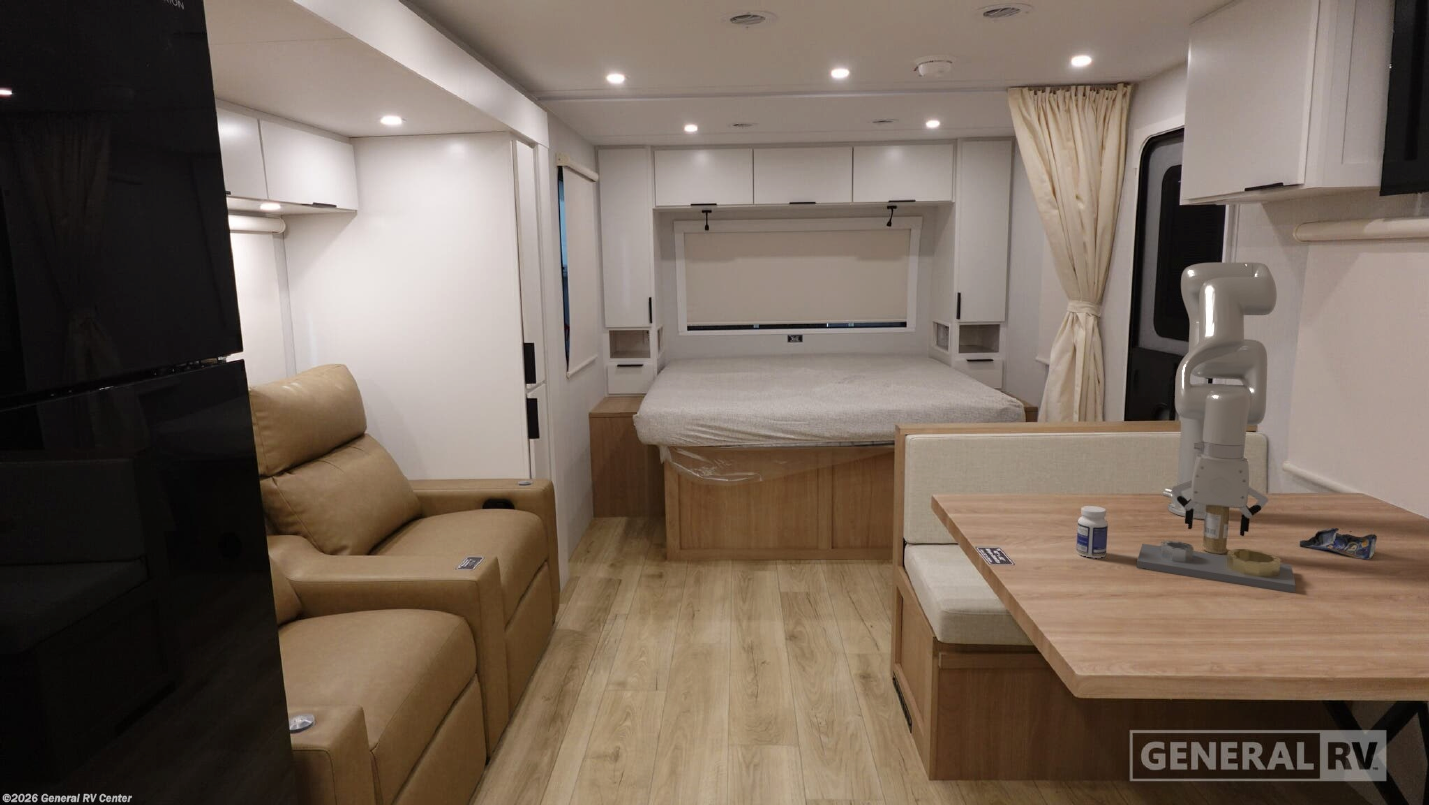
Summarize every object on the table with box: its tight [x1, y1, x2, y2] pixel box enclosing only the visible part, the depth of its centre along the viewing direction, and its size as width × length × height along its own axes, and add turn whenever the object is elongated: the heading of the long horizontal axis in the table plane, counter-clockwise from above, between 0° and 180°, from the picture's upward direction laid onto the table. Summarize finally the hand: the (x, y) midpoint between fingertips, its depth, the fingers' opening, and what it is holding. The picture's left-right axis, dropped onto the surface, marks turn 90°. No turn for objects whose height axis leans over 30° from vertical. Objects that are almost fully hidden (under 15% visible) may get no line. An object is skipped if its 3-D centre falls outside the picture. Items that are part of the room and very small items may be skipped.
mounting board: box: [1136, 543, 1296, 594], centre depth 164 cm, size 26×12×2 cm, turn 58°
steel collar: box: [1159, 540, 1195, 562], centre depth 167 cm, size 6×6×2 cm
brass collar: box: [1226, 548, 1281, 577], centre depth 160 cm, size 8×8×2 cm
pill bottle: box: [1075, 505, 1109, 559], centre depth 173 cm, size 6×6×10 cm
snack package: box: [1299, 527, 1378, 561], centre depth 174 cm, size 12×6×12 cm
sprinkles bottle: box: [1201, 505, 1230, 555], centre depth 174 cm, size 5×5×14 cm
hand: (1215, 530), depth 174 cm, fingers open, 9 cm apart
